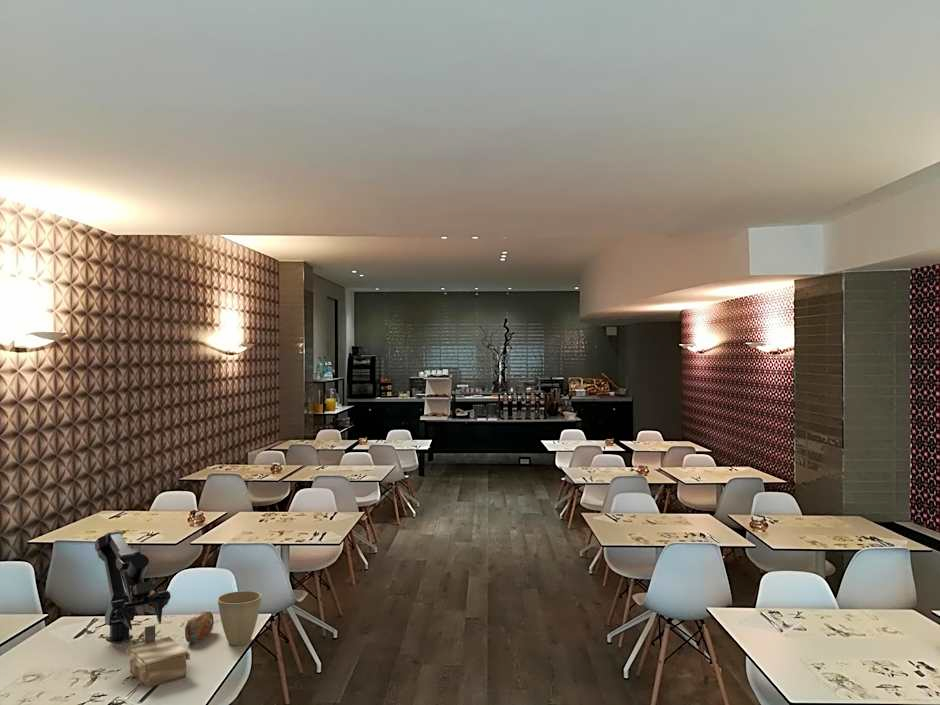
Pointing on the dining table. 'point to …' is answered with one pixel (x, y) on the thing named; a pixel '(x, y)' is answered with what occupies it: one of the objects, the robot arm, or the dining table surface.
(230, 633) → the plant pot
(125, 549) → the robot arm
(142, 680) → the carton
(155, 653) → the carton lid
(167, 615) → the dining table surface
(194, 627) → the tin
